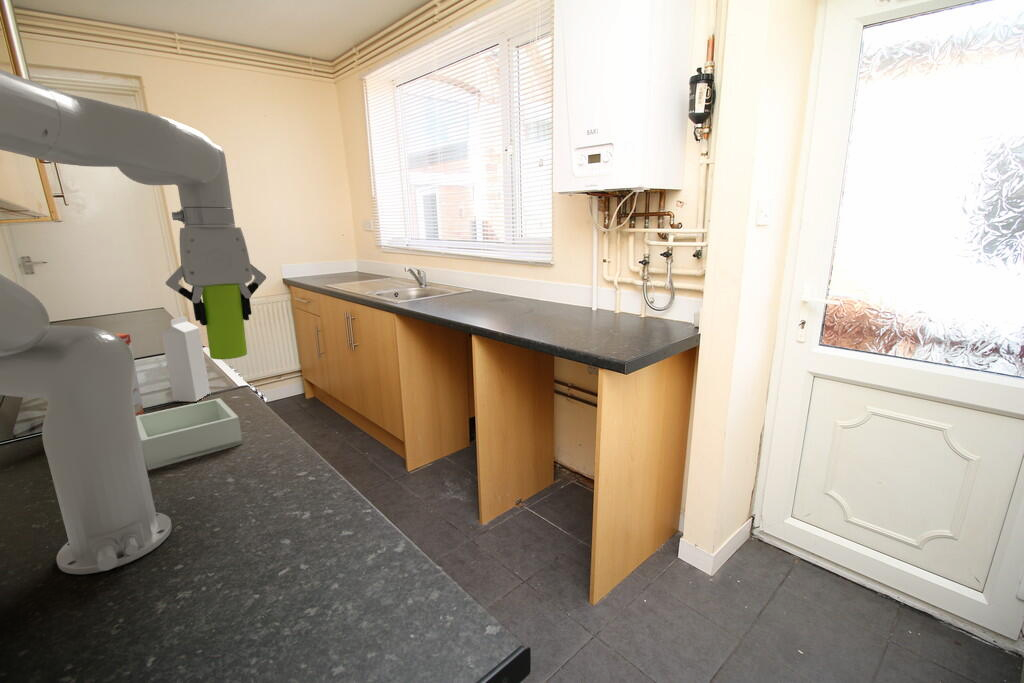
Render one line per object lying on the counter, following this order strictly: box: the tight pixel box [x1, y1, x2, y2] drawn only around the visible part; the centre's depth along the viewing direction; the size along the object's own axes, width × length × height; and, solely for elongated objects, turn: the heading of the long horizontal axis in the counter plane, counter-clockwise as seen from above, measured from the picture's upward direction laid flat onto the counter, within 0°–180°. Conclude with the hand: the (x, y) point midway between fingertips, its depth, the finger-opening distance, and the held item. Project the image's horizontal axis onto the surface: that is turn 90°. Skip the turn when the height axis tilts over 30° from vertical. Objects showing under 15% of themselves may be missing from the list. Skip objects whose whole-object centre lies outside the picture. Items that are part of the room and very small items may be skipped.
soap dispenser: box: [201, 284, 248, 360], centre depth 86 cm, size 6×7×20 cm
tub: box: [136, 397, 244, 471], centre depth 99 cm, size 16×16×6 cm
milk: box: [160, 315, 211, 401], centre depth 124 cm, size 6×6×22 cm
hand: (224, 320), depth 86 cm, fingers closed on soap dispenser, 6 cm apart
